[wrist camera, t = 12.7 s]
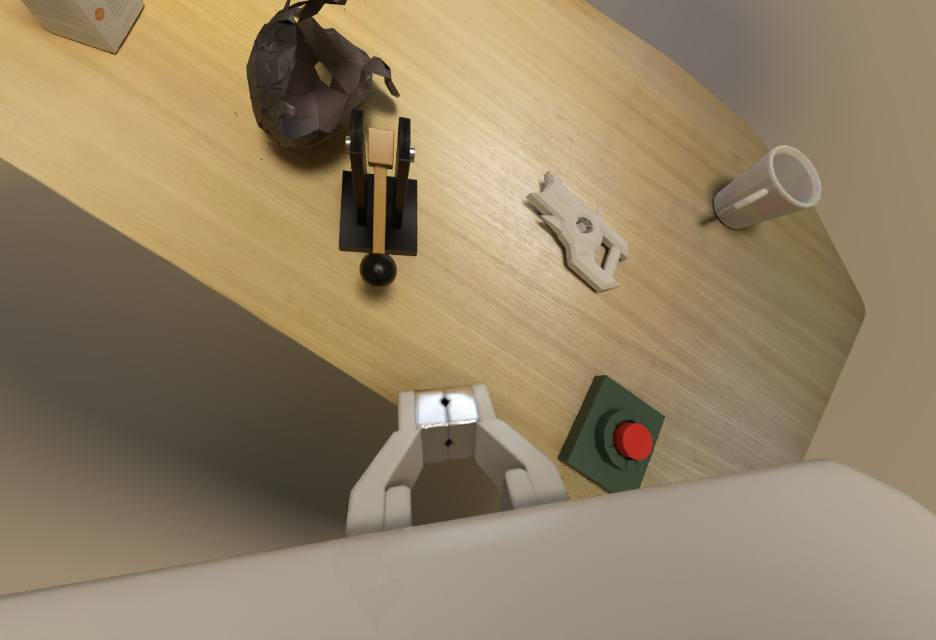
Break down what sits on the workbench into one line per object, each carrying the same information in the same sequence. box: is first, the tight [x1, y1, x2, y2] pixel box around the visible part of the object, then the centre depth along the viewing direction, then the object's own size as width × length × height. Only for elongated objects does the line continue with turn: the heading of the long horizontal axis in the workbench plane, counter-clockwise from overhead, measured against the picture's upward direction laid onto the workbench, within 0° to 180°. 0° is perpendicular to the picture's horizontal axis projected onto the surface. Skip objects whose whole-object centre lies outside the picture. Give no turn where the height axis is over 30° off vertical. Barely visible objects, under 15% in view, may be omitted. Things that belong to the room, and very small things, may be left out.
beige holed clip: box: [526, 171, 628, 292], centre depth 47 cm, size 18×4×10 cm
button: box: [613, 422, 652, 460], centre depth 39 cm, size 4×4×2 cm
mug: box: [714, 145, 821, 229], centre depth 53 cm, size 10×15×10 cm
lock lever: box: [360, 127, 397, 288], centre depth 32 cm, size 14×4×4 cm, turn 2°
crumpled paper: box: [235, 0, 400, 160], centre depth 36 cm, size 14×15×20 cm
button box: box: [558, 375, 665, 493], centre depth 41 cm, size 12×10×4 cm
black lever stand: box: [339, 109, 417, 256], centre depth 35 cm, size 10×9×14 cm
